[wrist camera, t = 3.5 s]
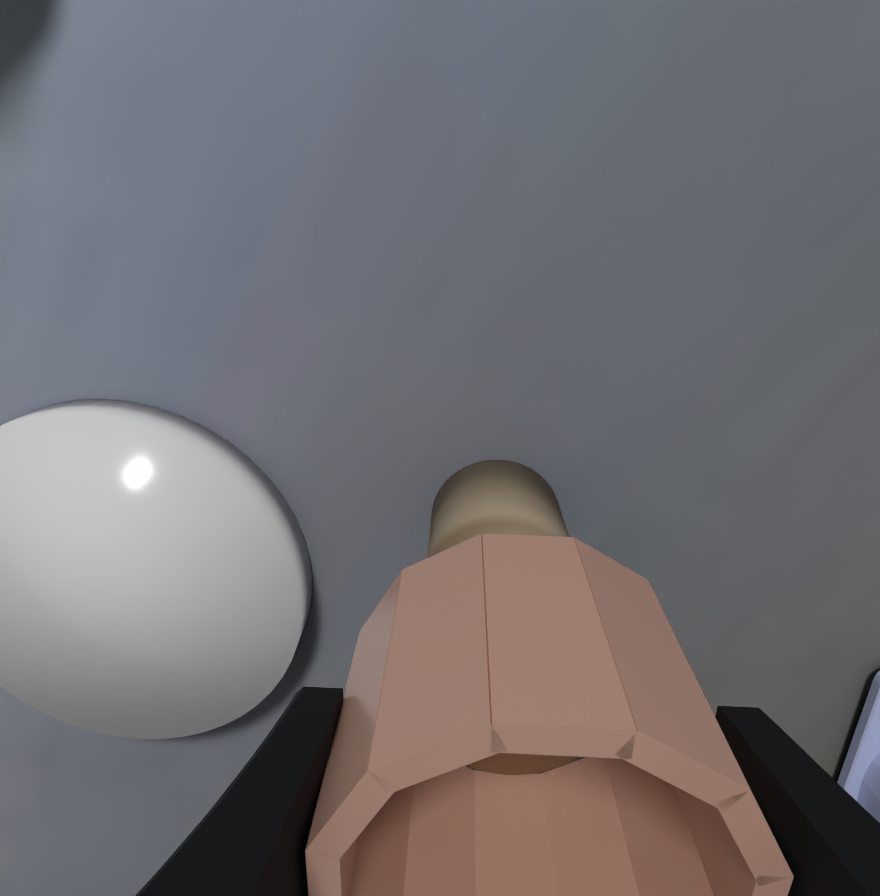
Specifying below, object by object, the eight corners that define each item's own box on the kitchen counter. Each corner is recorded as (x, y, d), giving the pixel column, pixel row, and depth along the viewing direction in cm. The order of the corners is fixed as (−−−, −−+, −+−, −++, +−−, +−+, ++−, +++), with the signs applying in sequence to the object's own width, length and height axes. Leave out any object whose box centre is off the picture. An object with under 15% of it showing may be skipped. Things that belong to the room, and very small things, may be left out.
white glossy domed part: (320, 715, 19) (311, 746, 18) (1, 701, 19) (-27, 731, 18) (301, 405, 15) (289, 421, 14) (-92, 392, 16) (-134, 406, 15)
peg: (553, 576, 17) (604, 779, 11) (430, 571, 17) (413, 770, 11) (565, 462, 16) (629, 621, 10) (432, 457, 16) (415, 612, 10)
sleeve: (650, 794, 12) (733, 1056, 8) (363, 780, 12) (318, 1032, 8) (700, 542, 10) (840, 739, 6) (356, 528, 10) (294, 713, 6)
